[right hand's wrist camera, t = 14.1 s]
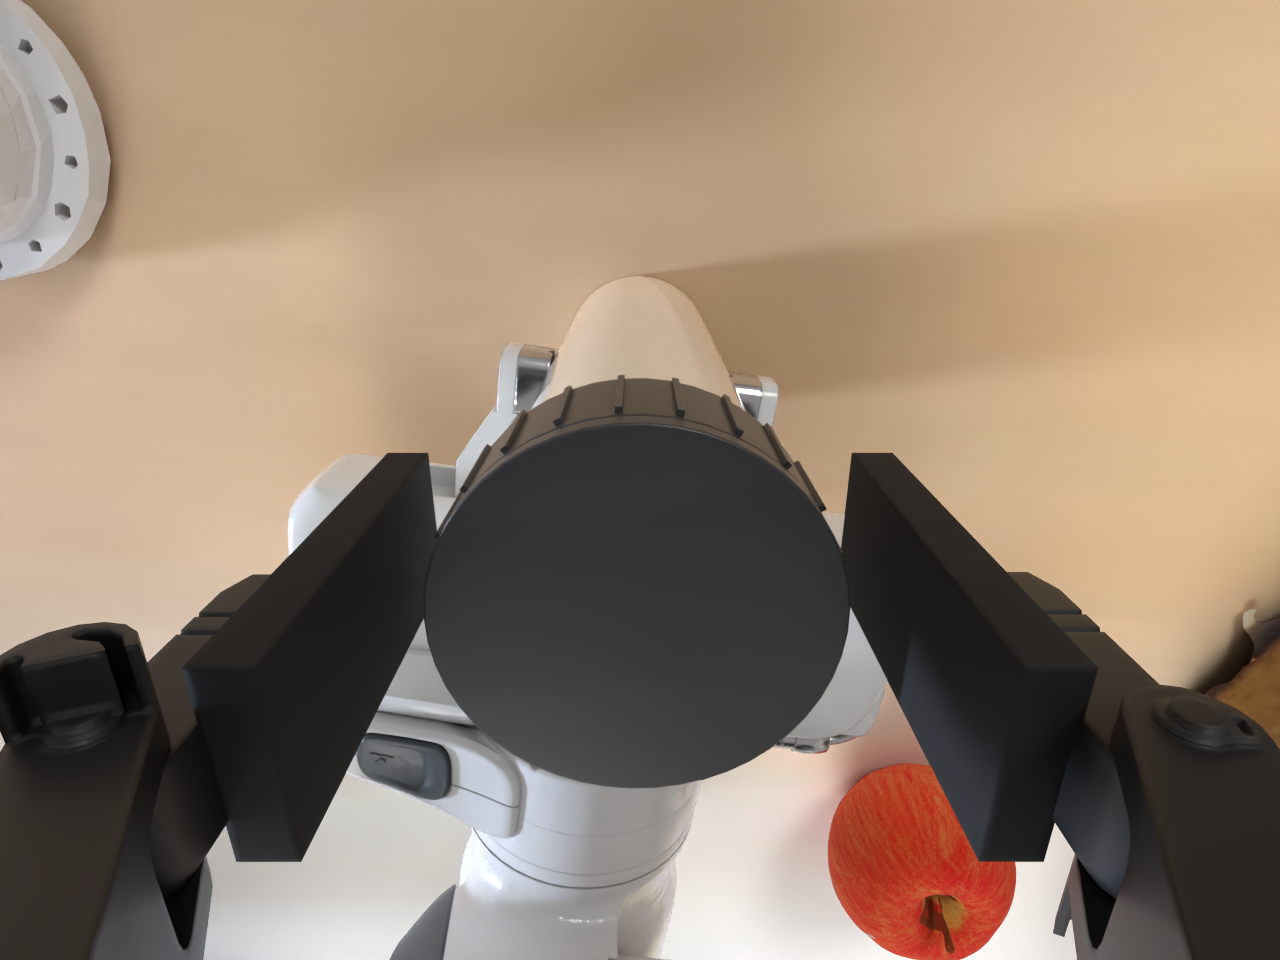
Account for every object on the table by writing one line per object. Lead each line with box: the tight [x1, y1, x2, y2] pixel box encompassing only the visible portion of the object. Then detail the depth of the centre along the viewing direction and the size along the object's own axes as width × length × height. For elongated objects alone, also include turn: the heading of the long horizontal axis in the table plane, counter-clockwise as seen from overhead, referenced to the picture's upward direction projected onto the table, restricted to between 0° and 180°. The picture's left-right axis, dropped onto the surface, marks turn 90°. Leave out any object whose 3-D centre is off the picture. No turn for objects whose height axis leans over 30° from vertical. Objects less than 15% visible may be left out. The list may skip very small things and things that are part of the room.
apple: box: [828, 763, 1016, 960], centre depth 33 cm, size 8×8×8 cm
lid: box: [424, 375, 850, 789], centre depth 11 cm, size 6×6×2 cm
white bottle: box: [529, 276, 747, 412], centre depth 19 cm, size 5×5×19 cm
